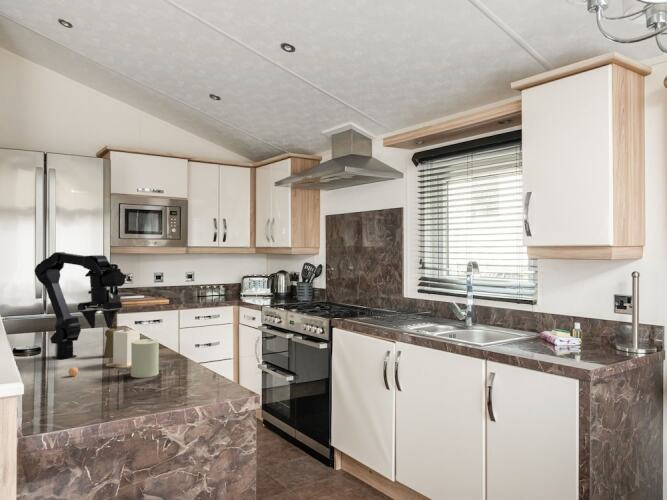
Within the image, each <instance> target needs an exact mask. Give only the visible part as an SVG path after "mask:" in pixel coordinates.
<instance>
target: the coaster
mask: <svg viewBox="0 0 667 500" xmlns="http://www.w3.org/2000/svg"><path fill="white" fill-rule="evenodd" d="M105 367H111V368H119V369H130V368H131V364H130V365H119V364H113V362H110V363H106V364H105Z"/></svg>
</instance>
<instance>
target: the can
mask: <svg viewBox="0 0 667 500" xmlns="http://www.w3.org/2000/svg"><path fill="white" fill-rule="evenodd" d="M159 344H160V341H159V340H158V339H154V338H153V339H152V338H147V339H145V338H142V339H140V340H135V341H132V342H131V370H130V376H131V377H132V378H137V379H138V378H139V379H140V378H142V379H143V378H152V377H156V376H158V375H159V374H160V372H159V371H160V370H159V355H160V354H159V353H160V351H159V346H160V345H159Z"/></svg>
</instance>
